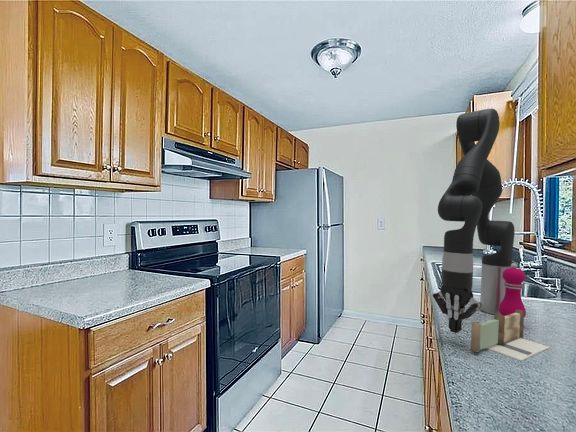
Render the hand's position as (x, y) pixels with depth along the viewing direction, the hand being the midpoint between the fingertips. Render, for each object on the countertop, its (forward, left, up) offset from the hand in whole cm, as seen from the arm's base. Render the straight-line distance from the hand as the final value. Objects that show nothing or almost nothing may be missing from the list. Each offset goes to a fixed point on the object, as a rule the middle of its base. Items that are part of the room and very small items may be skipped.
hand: (454, 331), depth 88 cm
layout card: (-12, +8, -3) cm, 15 cm away
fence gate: (-3, +6, -2) cm, 7 cm away
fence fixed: (-16, +6, -3) cm, 17 cm away
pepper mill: (-31, 0, -3) cm, 31 cm away
